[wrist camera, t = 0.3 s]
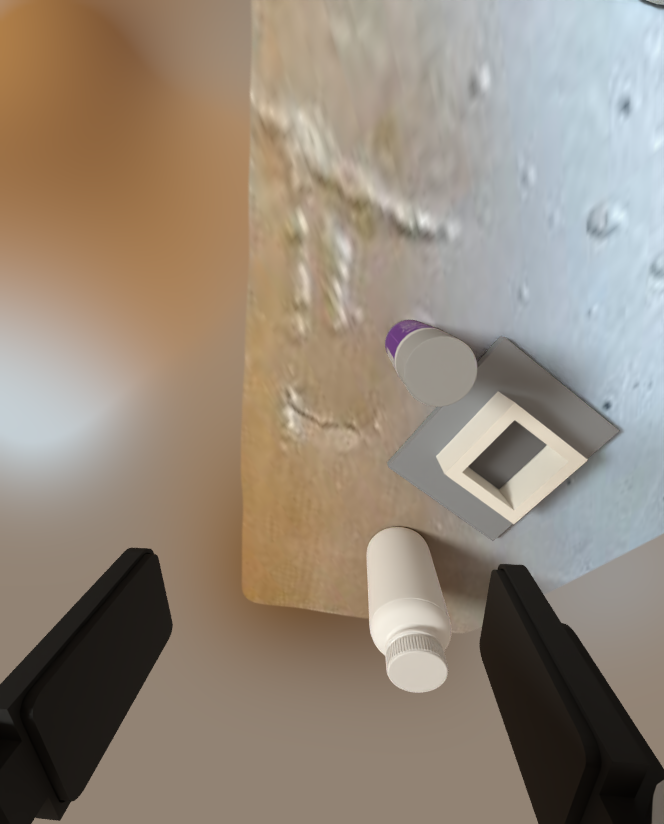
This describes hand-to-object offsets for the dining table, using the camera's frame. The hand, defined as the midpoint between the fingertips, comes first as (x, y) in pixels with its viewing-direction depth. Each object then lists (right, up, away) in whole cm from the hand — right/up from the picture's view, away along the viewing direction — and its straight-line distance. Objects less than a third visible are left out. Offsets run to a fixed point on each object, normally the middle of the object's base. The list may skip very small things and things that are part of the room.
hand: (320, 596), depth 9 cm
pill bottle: (+9, -13, +34) cm, 37 cm away
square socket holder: (+19, +1, +28) cm, 34 cm away
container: (+8, +12, +26) cm, 30 cm away
